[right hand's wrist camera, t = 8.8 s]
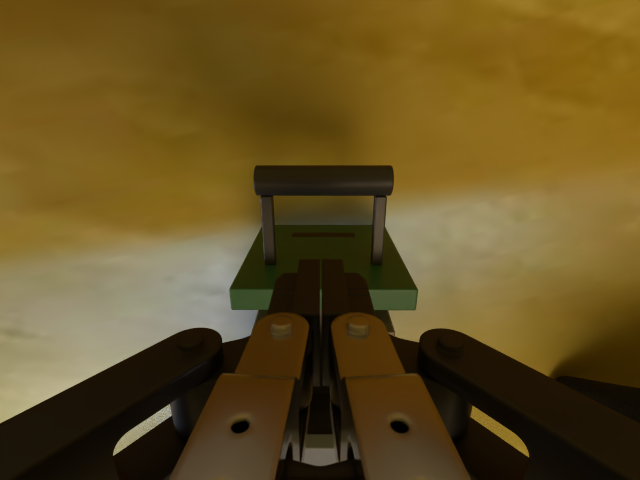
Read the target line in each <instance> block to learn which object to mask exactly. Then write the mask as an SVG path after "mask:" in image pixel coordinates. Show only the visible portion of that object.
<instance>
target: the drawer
mask: <svg viewBox="0 0 640 480" xmlns="http://www.w3.org/2000/svg"><path fill="white" fill-rule="evenodd" d="M393 184H394V173H393V168H392V166H255V169H254V189H255V193H256V195H258V196H261V197H260V198H261V214H262V227H261V229H260V231H259V233H258V235H257V237H256V239H255V241H254V243H253V245H252V247H251V249H250V251H249V253H248V254H247V256H246V258H245V260H244V262H243V264H242V266H241V268H240V270H239V272H238V274H237V276H236V278H235V279H234V281H233V283H232V285H231V287H230V289H229V292H230V301H231V309H232V310H259V311H258V314H257V317H256V320H255V323H254V326H253V329H254V327H255V325H256V323H257V322H258V321H259V320H260V319H262V318H263V317H265V316H267V312H268V308H269V304H270V301H271V297H272V293H273V289H274V285H275V282H276V279H277V278H278V277H280V276H281V275H282V274H283V273H297V272H298V265H299V259H320V386H313V391H312V399H311V402H310V416H309V424H308V432H307V434H333V432H332V424H331V416H330V386H322V259H343V265H344V272H345V273H359V274H360V275H361V276H362V277H364V278H365V279H366V282H367V286H368V289H369V293H370V296H371V300H372V304H373V307H374V311H375V315H376V317H377V318H378V319H380V320H381V321H382V322H383V323H384V325H385V327H386V329H387V331H388V333H389V334H390V335H392V336H395V331H394V328H393V325H392V322H391V318H390V315H389V312H388V310H416V303H417V294H418V289H417V287H416V285H415V283H414V281H413V280H412V278H411V276H410V274H409V272H408V270H407V268H406V266H405V264H404V262H403V260H402V258H401V257H400V255H399V253H398V251H397V249H396V247H395V245H394V243H393V241H392V239H391V237H390V236H389V234H388V232H387V230H386V228H385V216H386V201H387V197H386V196H390V195H391V194H392V191H393ZM273 196H374V206H373V224H372V225H275V222H274V202H273ZM252 331H253V330H252Z"/></svg>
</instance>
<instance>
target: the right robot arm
mask: <svg viewBox="0 0 640 480" xmlns="http://www.w3.org/2000/svg"><path fill="white" fill-rule="evenodd" d="M313 386H320V259H299V265H298V272H297V273H283V274H282V275H281V276H280V277H278V278H277V279H276V282H275V285H274V289H273V293H272V297H271V301H270V304H269V308H268V312H267V316H265V317H263V318H262V319H260V320H259V321H258V322H257V323H256V325H255V327H254V329H253V331H252V334H251V335H250V336H248V337H246V338H243V339H239V340H234V341H229V342H225V343H222V338H221V335H220V334H219V333H218V332H217V331H215V330H212V329H209V328H193V329H188V330H184V331H181V332H179V333H176V334H174V335H172V336H170V337H168V338H167V339H165V340H163V341H161V342H159V343H157V344H155V345H153V346H151V347H149V348H147V349H145V350H143V351H141V352H139V353H137V354H135V355H133V356H131V357H129V358H127V359H125V360H124V361H122V362H120V363H118V364H116V365H114V366H112V367H110V368H108V369H106V370H104V371H102V372H100V373H98V374H96V375H94V376H92V377H90V378H88V379H86V380H84V381H82V382H80V383H79V384H77V385H75V386H73V387H71V388H69V389H67V390H65V391H63V392H61V393H59V394H57V395H55V396H53V397H51V398H49V399H47V400H45V401H43V402H41V403H39V404H37V405H36V406H34V407H32V408H30V409H28V410H26V411H24V412H22V413H20V414H18V415H16V416H14V417H12V418H10V419H8V420H6V421H4V422H2V423H0V480H640V423H638V422H636V421H634V420H632V419H630V418H628V417H626V416H624V415H622V414H620V413H618V412H616V411H614V410H612V409H610V408H608V407H606V406H604V405H603V404H601V403H599V402H597V401H595V400H593V399H591V398H589V397H587V396H585V395H583V394H581V393H579V392H577V391H575V390H573V389H571V388H569V387H567V386H565V385H563V384H561V383H560V382H558V381H556V380H554V379H552V378H550V377H548V376H546V375H544V374H542V373H540V372H538V371H536V370H534V369H532V368H530V367H528V366H526V365H524V364H522V363H520V362H518V361H516V360H515V359H513V358H511V357H509V356H507V355H505V354H503V353H501V352H499V351H497V350H495V349H493V348H491V347H489V346H487V345H485V344H483V343H481V342H479V341H477V340H475V339H473V338H472V337H470V336H468V335H466V334H463V333H461V332H458V331H455V330H451V329H442V328H440V329H431V330H428V331H426V332H424V333H423V334H422V335H421V337H420V340H419V342H414V341H409V340H404V339H400V338H397V337H395V336H392V335H390V334H389V333H388V331H387V329H386V327H385V325H384V323H383V322H382V321H381V320H380V319H378V318H377V317H376V315H375V311H374V307H373V304H372V300H371V296H370V293H369V289H368V286H367V282H366V279H365V278H364V277H362V276H361V275H360V274H359V273H345V272H344V265H343V259H322V386H330V416H331V424H332V432H333V440H334V448H335V456H336V463H333V464H329V465H325V466H315V465H311V464H307V463H304V456H305V448H306V440H307V432H308V424H309V416H310V402H311V399H312V391H313ZM168 404H170V407H171V412H172V416H171V417H169V418H168V419H166V420H165V421H163V422H162V423H161V424H159V425H158V426H156V427H155V428H153V429H152V430H150V431H149V432H148V433H146V434H145V435H143V436H142V437H140V438H139V439H137V440H136V441H135V442H133V443H132V444H130V445H129V446H127V447H126V448H125V449H123V450H122V451H120V452H119V453H117V454H116V455H114V456H113V451H114V448H115V446H116V444H117V442H118V441H119V440H120V438H121V437H122V436H123V435H124V434H125V433H127V432H128V431H129V430H131V429H132V428H134V427H135V426H137V425H138V424H140V423H141V422H143V421H144V420H146V419H147V418H149V417H150V416H152V415H153V414H155V413H156V412H158V411H159V410H161V409H162V408H164V407H165V406H167V405H168ZM472 405H473V406H475V407H476V408H478V409H479V410H481V411H482V412H484V413H485V414H487V415H488V416H490V417H491V418H493V419H494V420H496V421H497V422H499V423H500V424H502V425H503V426H505V427H506V428H508V429H509V430H511V431H512V432H514V433H515V434H516V435H517V436H518V437H519V438H520V439H521V440H522V441H523V442H524V444H525V445H526V447H527V449H528V452H529V457H527V456H526V455H524V454H523V453H521V452H520V451H518V450H517V449H516V448H514V447H513V446H511V445H510V444H508V443H507V442H505V441H504V440H503V439H501V438H500V437H498V436H497V435H495V434H494V433H492V432H491V431H490V430H488V429H487V428H485V427H484V426H482V425H481V424H479V423H478V422H477V421H475V420H474V419H472V418H471V417H470V416H471V411H472Z"/></svg>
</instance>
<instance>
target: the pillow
mask: <svg viewBox="0 0 640 480" xmlns="http://www.w3.org/2000/svg"><path fill="white" fill-rule="evenodd" d="M556 381H558V382H560V383H561V384H563V385H565V386H567V387H569V388H571V389H573V390H575V391H577V392H579V393H581V394H583V395H585V396H587V397H589V398H591V399H593V400H595V401H597V402H599V403H601V404H603V405H604V406H606V407H608V408H610V409H612V410H614V411H616V412H618V413H620V414H622V415H624V416H626V417H628V418H630V419H632V420H634V421H636V422H638V423H640V388H634V387H628V386H621V385H615V384H609V383H604V382H598V381H593V380H587V379H581V378H576V377H569V376H561V377H558V378H556Z"/></svg>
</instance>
